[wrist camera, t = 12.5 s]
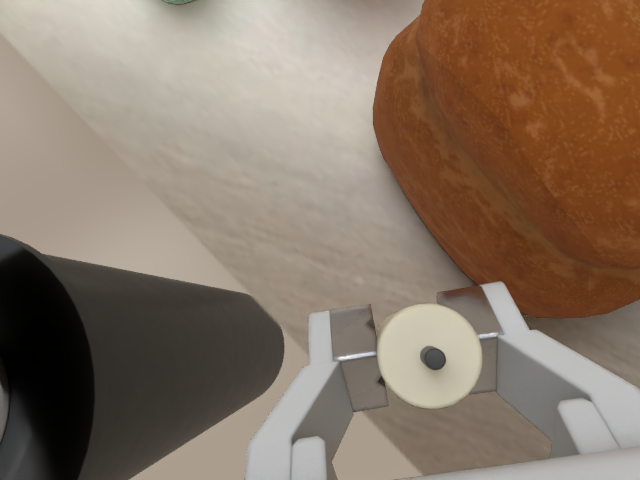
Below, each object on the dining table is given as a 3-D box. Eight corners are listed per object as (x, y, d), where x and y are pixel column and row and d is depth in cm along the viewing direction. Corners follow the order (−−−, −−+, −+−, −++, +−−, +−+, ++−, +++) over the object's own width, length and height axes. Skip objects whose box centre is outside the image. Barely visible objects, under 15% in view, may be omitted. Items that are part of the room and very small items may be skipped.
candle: (390, 370, 16) (410, 439, 6) (368, 325, 16) (357, 331, 7) (435, 348, 16) (517, 389, 6) (411, 304, 16) (459, 282, 7)
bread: (350, 130, 33) (318, -64, 16) (611, -50, 32) (849, -432, 16) (512, 349, 29) (686, 388, 13) (807, 148, 29) (1377, -81, 12)
